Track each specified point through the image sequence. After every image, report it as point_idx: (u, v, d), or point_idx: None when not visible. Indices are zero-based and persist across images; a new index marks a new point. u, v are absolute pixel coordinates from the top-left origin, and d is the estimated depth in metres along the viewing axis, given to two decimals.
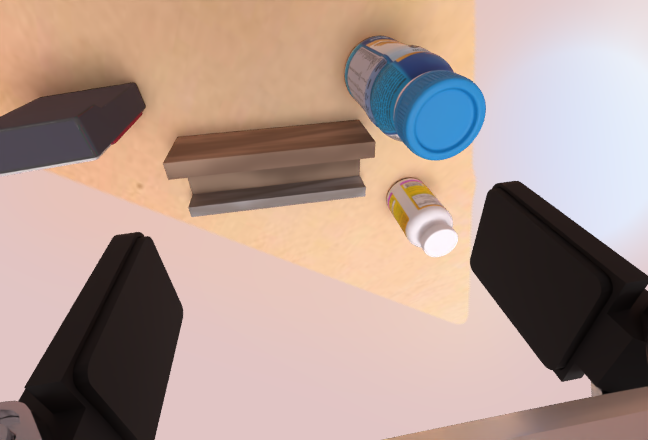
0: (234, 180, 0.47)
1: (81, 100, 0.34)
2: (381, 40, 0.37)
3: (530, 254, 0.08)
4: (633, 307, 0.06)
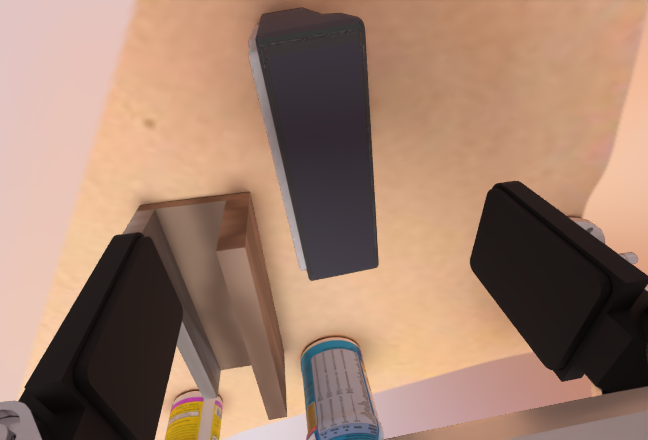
0: (191, 260, 0.32)
1: None
2: (365, 373, 0.42)
3: (530, 254, 0.08)
4: (633, 307, 0.06)
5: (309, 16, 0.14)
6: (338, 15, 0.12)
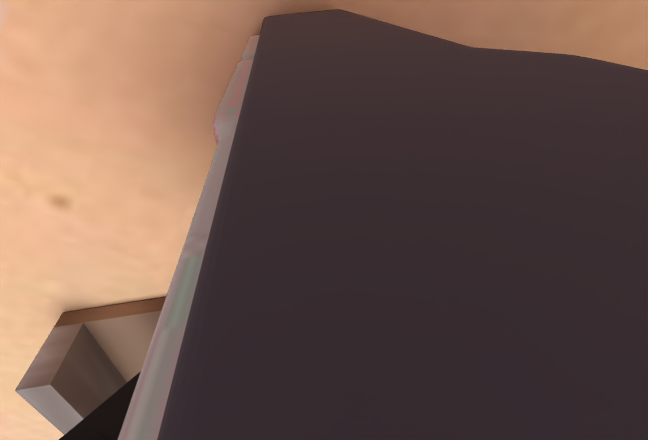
0: None
1: None
2: None
3: None
4: None
5: (434, 54, 0.04)
6: None
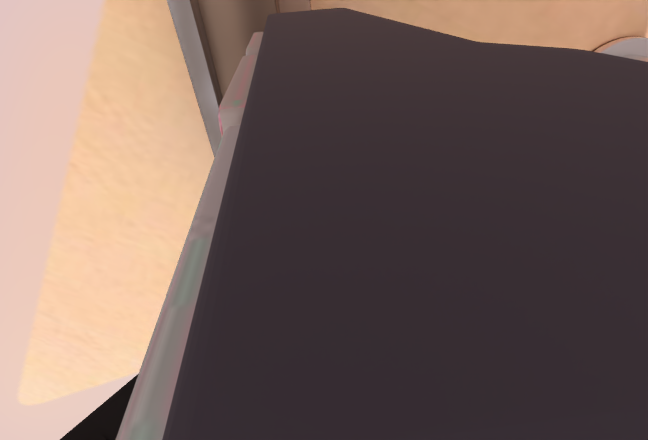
0: (232, 70, 0.29)
1: None
2: None
3: None
4: None
5: (441, 48, 0.04)
6: None
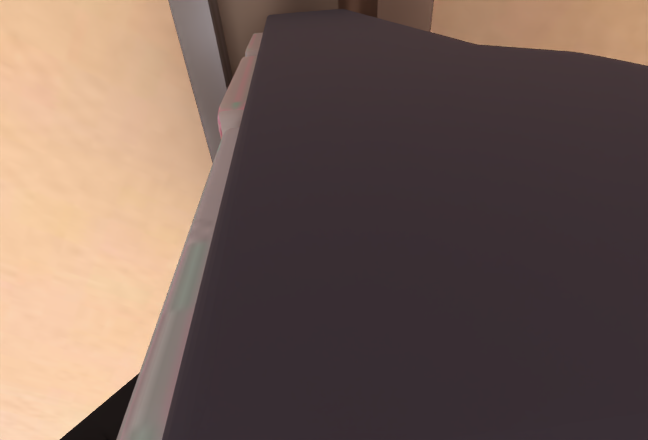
0: None
1: None
2: None
3: None
4: None
5: (439, 50, 0.04)
6: None
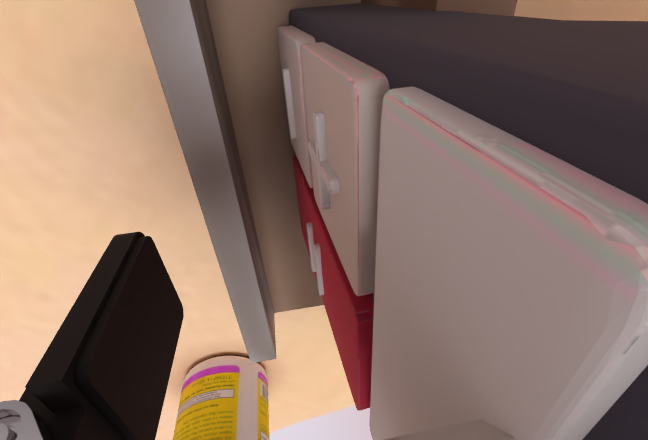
0: None
1: None
2: None
3: None
4: None
5: (543, 24, 0.05)
6: None
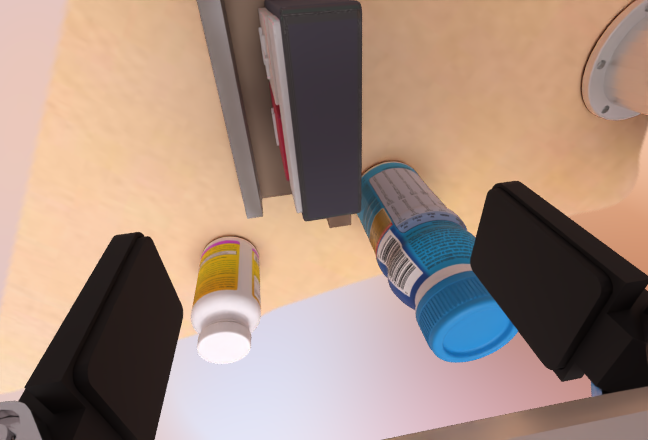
0: None
1: None
2: None
3: (530, 254, 0.08)
4: (633, 307, 0.06)
5: (314, 0, 0.17)
6: None
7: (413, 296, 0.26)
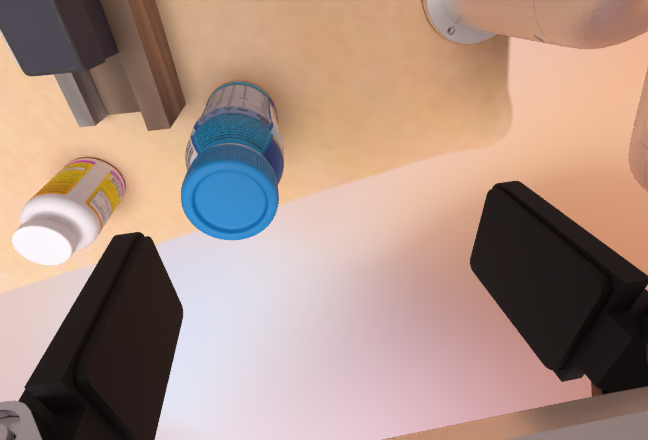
0: None
1: None
2: None
3: (530, 254, 0.08)
4: (633, 307, 0.06)
5: None
6: None
7: None
